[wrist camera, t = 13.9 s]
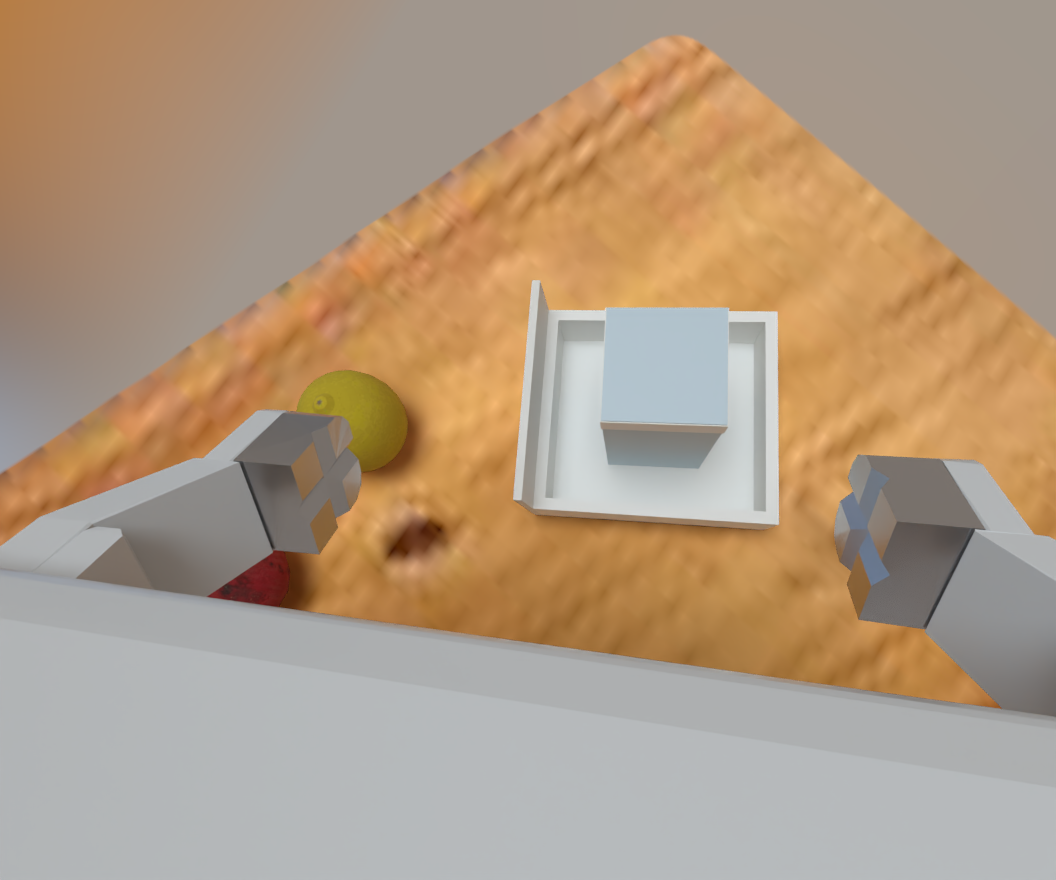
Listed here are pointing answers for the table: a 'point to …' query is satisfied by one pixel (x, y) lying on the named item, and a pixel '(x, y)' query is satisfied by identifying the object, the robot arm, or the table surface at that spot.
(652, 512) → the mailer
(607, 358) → the carton
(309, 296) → the table surface
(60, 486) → the table surface
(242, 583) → the onion
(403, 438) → the lemon
